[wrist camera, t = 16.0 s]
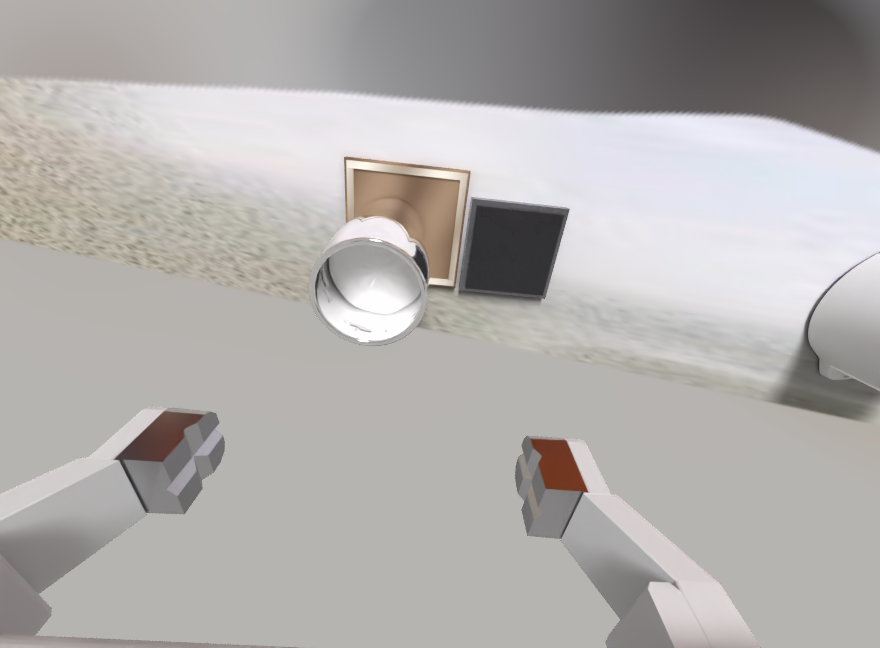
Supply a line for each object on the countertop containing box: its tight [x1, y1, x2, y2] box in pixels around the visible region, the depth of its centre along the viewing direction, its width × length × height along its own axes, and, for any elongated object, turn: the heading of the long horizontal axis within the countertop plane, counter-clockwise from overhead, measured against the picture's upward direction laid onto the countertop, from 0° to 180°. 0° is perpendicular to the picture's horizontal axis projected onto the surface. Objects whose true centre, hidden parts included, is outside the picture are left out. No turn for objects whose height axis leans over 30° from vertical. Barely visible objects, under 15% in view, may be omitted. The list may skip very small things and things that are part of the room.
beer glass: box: [308, 198, 430, 346], centre depth 25 cm, size 7×7×15 cm
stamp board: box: [344, 157, 470, 287], centre depth 32 cm, size 11×11×1 cm
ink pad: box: [459, 197, 569, 299], centre depth 33 cm, size 9×9×2 cm
